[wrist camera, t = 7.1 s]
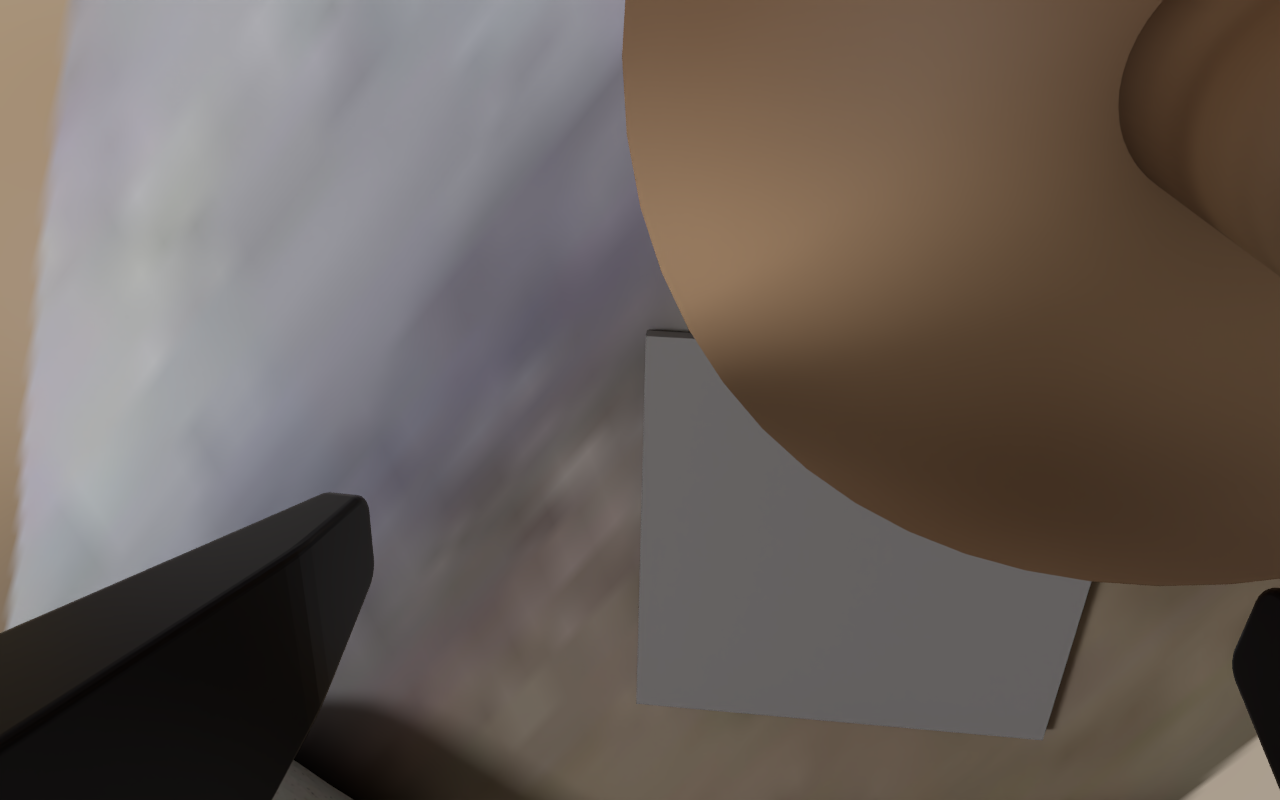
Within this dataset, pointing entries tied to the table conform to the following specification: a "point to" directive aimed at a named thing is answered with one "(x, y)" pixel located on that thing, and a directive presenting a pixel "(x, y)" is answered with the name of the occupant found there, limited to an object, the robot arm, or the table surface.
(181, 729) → the robot arm
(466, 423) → the table surface
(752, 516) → the mat
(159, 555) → the table surface
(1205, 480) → the lid
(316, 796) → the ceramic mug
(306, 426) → the table surface
